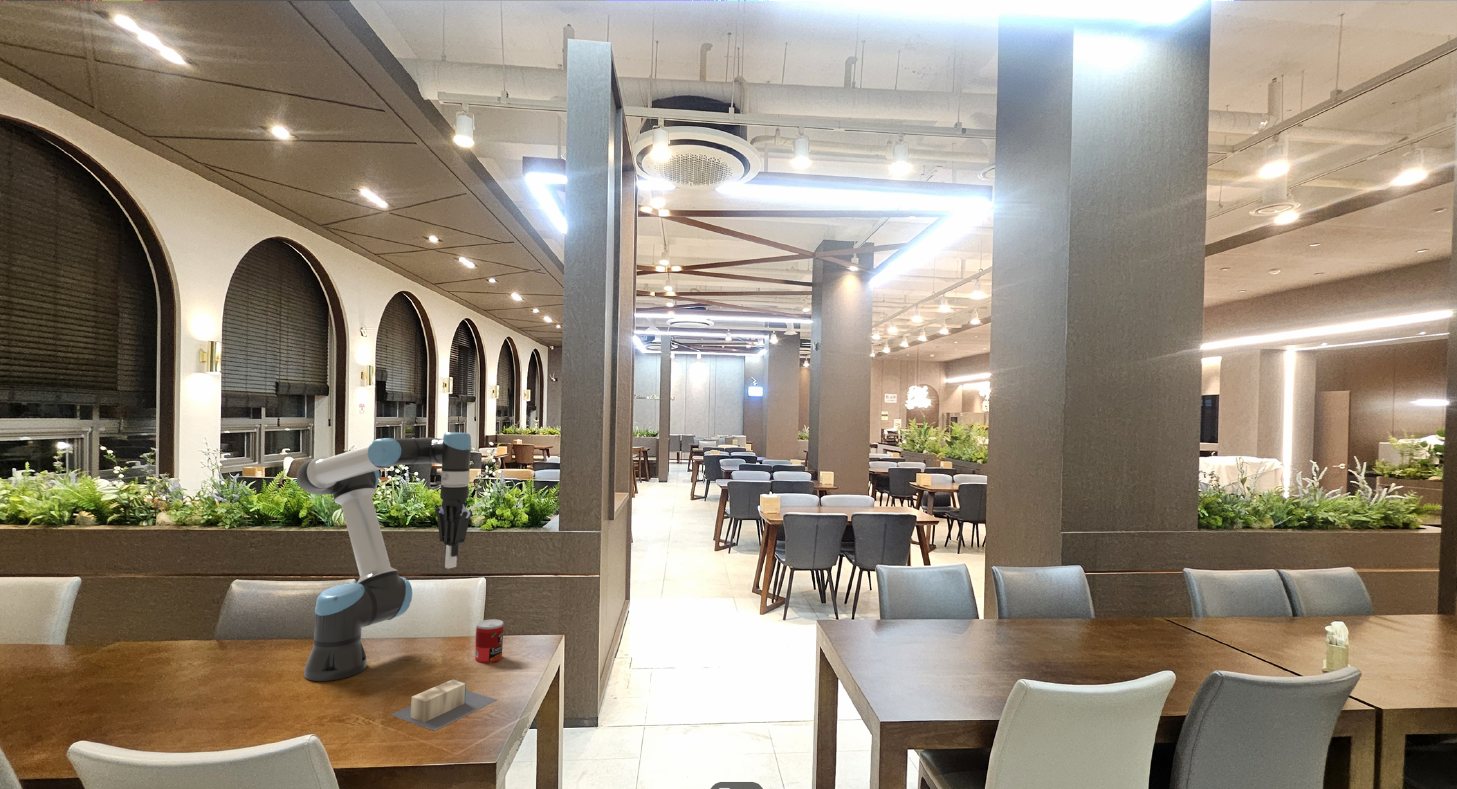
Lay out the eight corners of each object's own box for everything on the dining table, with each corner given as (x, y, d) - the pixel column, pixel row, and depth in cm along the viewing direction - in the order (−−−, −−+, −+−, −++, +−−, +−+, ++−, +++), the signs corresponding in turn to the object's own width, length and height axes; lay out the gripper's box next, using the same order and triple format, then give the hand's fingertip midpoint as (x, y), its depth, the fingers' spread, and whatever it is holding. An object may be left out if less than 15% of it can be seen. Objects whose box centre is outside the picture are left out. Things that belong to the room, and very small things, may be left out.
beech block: (451, 698, 162) (410, 717, 151) (452, 679, 162) (411, 696, 152) (465, 702, 160) (424, 722, 149) (466, 683, 160) (425, 701, 149)
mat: (389, 716, 152) (390, 714, 152) (454, 687, 169) (454, 686, 169) (434, 732, 145) (434, 730, 145) (497, 701, 162) (497, 699, 162)
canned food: (493, 665, 185) (494, 628, 186) (469, 662, 187) (470, 625, 188) (507, 656, 193) (508, 620, 193) (483, 653, 195) (485, 618, 195)
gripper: (428, 484, 180) (423, 566, 179) (460, 488, 175) (455, 572, 174) (450, 482, 187) (445, 561, 186) (481, 486, 181) (477, 567, 180)
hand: (450, 567), depth 180 cm, fingers closed
